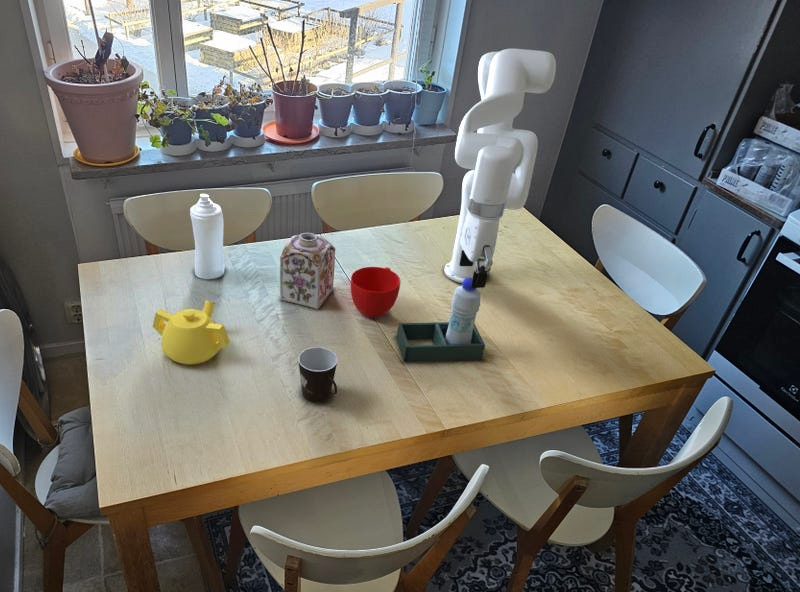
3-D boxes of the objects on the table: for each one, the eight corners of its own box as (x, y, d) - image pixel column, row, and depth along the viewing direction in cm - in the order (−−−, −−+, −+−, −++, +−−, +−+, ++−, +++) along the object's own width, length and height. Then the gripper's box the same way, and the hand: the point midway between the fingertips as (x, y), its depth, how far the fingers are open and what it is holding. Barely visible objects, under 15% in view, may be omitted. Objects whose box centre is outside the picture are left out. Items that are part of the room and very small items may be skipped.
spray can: (238, 272, 184) (234, 191, 169) (214, 288, 177) (207, 204, 162) (207, 260, 189) (200, 180, 174) (183, 275, 182) (173, 193, 166)
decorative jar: (278, 300, 174) (278, 241, 162) (295, 280, 182) (296, 222, 171) (319, 310, 170) (321, 250, 159) (334, 289, 179) (338, 231, 168)
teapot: (249, 333, 161) (247, 297, 154) (216, 376, 147) (213, 338, 140) (178, 316, 166) (174, 280, 159) (140, 356, 152) (134, 319, 145)
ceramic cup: (407, 298, 177) (412, 267, 170) (386, 330, 164) (390, 297, 158) (364, 287, 181) (367, 256, 174) (340, 316, 168) (343, 284, 162)
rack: (396, 337, 162) (398, 323, 159) (470, 335, 164) (473, 321, 161) (404, 362, 154) (406, 347, 151) (481, 359, 156) (485, 345, 153)
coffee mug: (296, 381, 147) (297, 347, 141) (333, 380, 148) (335, 346, 141) (299, 416, 138) (300, 381, 131) (338, 415, 138) (341, 380, 132)
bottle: (469, 358, 156) (485, 288, 144) (442, 353, 157) (455, 284, 145) (470, 342, 161) (485, 274, 149) (443, 338, 162) (456, 270, 150)
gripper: (458, 190, 142) (446, 258, 153) (481, 224, 128) (465, 296, 139) (491, 190, 143) (476, 258, 153) (516, 224, 129) (499, 295, 140)
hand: (471, 276), depth 146 cm, fingers open, 9 cm apart
